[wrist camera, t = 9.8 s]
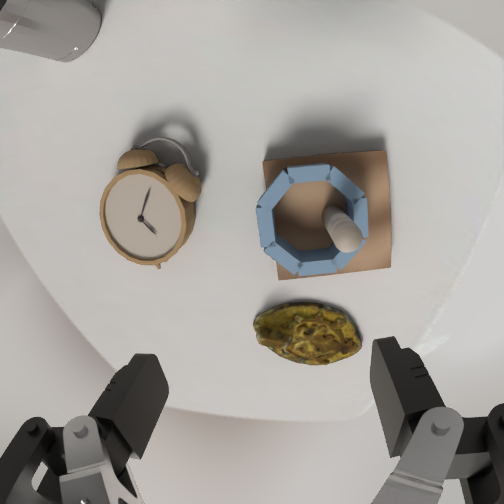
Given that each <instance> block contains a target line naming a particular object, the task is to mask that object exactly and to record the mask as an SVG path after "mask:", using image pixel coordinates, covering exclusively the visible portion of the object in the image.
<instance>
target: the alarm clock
mask: <svg viewBox="0 0 504 504" xmlns="http://www.w3.org/2000/svg"><path fill="white" fill-rule="evenodd" d="M156 140H163V141H167V142H170V143H172V144H173V145H175V146H176V147H177V148H179V149H180V151H181V152H182V153H183V155H184V157H185V159H186V163H187V166H186V165H183V164H173V165H171V166H169V167H168V168H167V169H165V168H164V167H165V164H162V163H159V166H161V167H157V166H153V165H151V164H155V163H158V159H157V156H156V155H155V153H154V152H152V151H151V150H148V149H138V148H142V147H144V146H147V145H148V144H150V143H151V142H153V141H156ZM146 165H151V166H146ZM140 166H142V167H140ZM134 167H136V168H135V169H132V170H127V171H125V172H123V173H121V174H119V175H117V176H116V177H114V178H113V179H112V181H111V182H110V183H109V184H108V185H107V186H106V188H105V190H104V193H103V195H102V198H101V202H100V219H101V225H102V229H103V231H104V233H105V235H106V238H107V240H108V242H109V243H110V244H111V245H112V246H113V248H114V249H115V250H116V251H117V252H118V253H119V254H120V255H122V256H123V257H125V258H126V259H127V260H129V261H132V262H135V263H137V264H140V265H156V267H157V269H160V268H161V266H160V263H162V262H165V261H167V260H168V259H170V258H171V257H172V256H173V255H174V254H176V253H177V252H178V250H179V249H180V248H181V246H183V245H184V244H185V243H186V241H187V239H188V238H189V236H190V234H191V233H192V230H193V225H194V220H195V213H194V203H193V202H194V201H195V200H196V199H197V198H198V197H199V195H200V193H201V183H200V180H199V178H198V175H199V171H194V169H193V167H192V164H191V159H190V156H189V154H188V152H187V150H186V149H185V147H184V146H182V145H181V144H180V143H179V142H177V141H175V140H174V139H170V138H163V137H159V138H154V139H150V140H148V141H146V142H145V143H144V144H142V145H140V146H137V144H136V145H133V149H131V151H128V152H126V153H125V154H123V155H122V156H121V157H120V159H119V161H118V165H117V169H127V168H134ZM162 167H163V168H162Z"/></svg>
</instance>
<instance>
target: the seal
mask: <svg viewBox="0 0 504 504" xmlns="http://www.w3.org/2000/svg"><path fill="white" fill-rule="evenodd" d="M253 326H254V330H255V332H256V333H257V334H256V338H257V340H258V342H259V344H261V345H264V346H267V347H268V348H269V349H270V350H272V351H273V352H275V353H276V354H277V355H279V356H281V357H283V358H285V359H288V360H291V361H294V362H296V363H303V364H308V365H323V364H324V365H328V364H329V363H333V362H336V361H339V360H342V359H345V358H348V357H350V356H352V355H354V354H355V353H357V352H358V351H359V350H360V349H361V347H362V344H361V340H360V337H359V334H358V330H357V328H356V326H355V325H354V323H353V322H352V320H351V319H350V318H349V317H348V316H347V315H346V314H345V313H343V312H341V311H339V310H337V309H334V308H332V307H329V306H326V305H323V304H317V303H303V302H299V303H287V304H283V305H279V306H277V307H274V308H272V309H270V310H267V311H266V312H264V313H262V314H261V315H259V316H258V317H257V318H256V319H255V320H254V322H253Z"/></svg>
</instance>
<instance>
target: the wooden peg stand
mask: <svg viewBox="0 0 504 504" xmlns="http://www.w3.org/2000/svg"><path fill="white" fill-rule="evenodd" d="M322 163H325V164H329V165H331V166H334V167H336V168H337V169H338V170H339V171H340V172H341V173H343V174H344V175H345V176H346V177H347V178H348V179H349V180H351V181H352V182H353V183H354V184H355V185H356V186H357V187H358V188H360V189H361V190H362V191H363V192H364V193H365V194H364V195H363V196H365V197H366V198H367V209H368V237H364V239H365V240H366V241H367V242H366V243H365V244H364V245H363V247H362V248H361V249H360V250H359V251H358V252H357V253H356V254H355V256H354V257H353V258H352V259H351V260H350V261H349V262H348V263H347V264H346V266H345V267H344V268H343V269H342V270H340V269H339V268H338V267H337V273H327V274H317V275H306V276H299V274H298V271H297V272H296V273H295V275H294V274H292V273H291V272H290V271H288V270H287V269H286V268H284V267H283V266H282V265H280V264H279V263H278V262H277V261H276V263H277V271H278V278H279V280H287V279H297V278H306V277H315V276H324V275H333V274H342V273H350V272H358V271H366V270H374V269H382V268H390V267H391V214H390V193H389V179H388V167H387V156H386V151H362V152H347V153H334V154H323V155H312V156H302V157H293V158H285V159H277V160H269V161H263V169H264V176H265V182H266V189H267V188H268V187H269V186H270V185H271V183H272V182H273V181H274V180H275V178H276V177H277V176H278V175H279V173H280V172H281V171H282V170H283V169H284V170H285V171H286V172H287V173H288V171H287V167H289V166H299V165H310V164H322ZM273 210H274V218H275V226H276V233H277V234H278V235H280V236H281V237H282V238H283V239H285V240H286V241H287V242H288V243H290V244H291V245H292V246H294V247H295V248H296V249H297V250H299V251H304V250H314V249H324V248H329V247H330V245H331V244H332V243H333V242H334V244H335V246H336V247H337V248H338V249H339V250H340V251H342V252H346V253H349V252H353V251H355V250H357V249H358V248H359V247H360V245H361V243H362V240H363V235H362V231H361V230H360V228H359V227H358V226H357V225H356V224H355V223H354V222H353V221H352V220H351V219H350V218H349V217H348V216H347V212H346V198H345V196H344V195H343V194H342V193H341V192H339V191H338V190H337V189H336V188H335V187H334V186H332V185H331V184H330V183H329V182H328V181H327V180H325V181H313V182H303V183H293V184H292V185H291V187H290V188H289V189H288V190H287V191H286V193H285V194H284V195H283V196H282V198H281V199H280V200H279V201H278V203H277V204H276V205H275V206H274V208H273Z"/></svg>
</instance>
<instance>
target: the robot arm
mask: <svg viewBox="0 0 504 504" xmlns="http://www.w3.org/2000/svg"><path fill="white" fill-rule="evenodd" d="M100 24H101V16H100V12H99V11H98V10H97V9H96V8H95V7H93V2H92V1H91V0H0V48H4V49H9V50H14V51H19V52H23V53H28V54H32V55H36V56H40V57H44V58H48V59H52V60H56V61H60V62H68V61H71V60H74V59H76V58H77V57H79V56H80V55H81V54H83V53H84V52H85V51H86V50H87V49H88V48H89V46H90V45H91V44H92V42H93V41H94V39H95V37H96V36H97V34H98V31H99V28H100ZM370 383H371V388H372V392H373V395H374V399H375V402H376V405H377V409H378V413H379V416H380V420H381V423H382V427H383V431H384V435H385V439H386V443H387V447H388V450H389V455H390V458H392V457H395V456H400V458H401V459H400V460H399V462H398V464H397V466H396V468H395V469H394V471H393V472H392V473H391V474H390V476H389V477H388V479H387V480H386V482H385V483H384V485H383V486H382V488H381V490H380V491H379V493H378V494H377V496H376V497H375V499H374V500H373V502H372V503H371V504H437V503H438V501H439V498H440V496H441V494H442V491H443V487H442V485H443V482H444V480H445V479H460V483H461V487H462V491H463V495H464V499H465V504H504V403H503V404H499V405H497V406H495V407H494V408H493V409H492V410H491V412H490V413H489V415H488V416H487V417H475V418H464V417H461V415H460V414H459V413H458V412H457V411H455V410H454V409H451V408H448V407H446V406H445V405H444V403H443V400H442V398H441V396H440V394H439V392H438V391H437V389H436V386H435V385H434V382H433V381H432V379H431V377H430V376H429V373H428V371H427V369H426V367H424V363H423V362H422V360H421V358H420V356H419V355H418V354H417V353H415V352H414V351H413V350H412V349H410V348H404V349H401V348H400V346H399V344H398V342H397V340H396V338H395V337H394V336H392V337H387V338H381V339H375V340H374V341H373V345H372V356H371V366H370ZM168 394H169V387H168V382H167V380H166V378H165V375H164V373H163V370H162V368H161V366H160V363H159V361H158V358H157V356H156V355H155V354H135V355H134V356H133V358H132V359H131V361H130V362H129V364H128V365H125V366H124V367H123V368H121V369H120V370H119V371H118V372H116V373H115V375H114V376H113V378H112V379H111V381H110V384H108V385H107V387H106V388H105V391H103V393H102V394H101V396H100V397H99V399H98V400H97V402H96V403H95V405H94V406H93V408H92V410H91V411H90V413H89V414H88V416H78V417H75V418H74V419H72V420H70V421H69V422H68V423H67V424H66V426H65V427H50V426H49V425H48V423H47V422H46V420H45V419H43V418H41V417H33V418H31V419H29V420H27V421H26V422H25V423H24V424H23V425H22V426H21V428H20V429H19V431H18V432H17V434H16V435H15V437H14V438H13V440H12V441H11V443H10V444H9V446H8V447H7V449H6V450H5V452H4V453H3V455H2V456H1V458H0V504H144V502H143V500H142V498H141V495H140V493H139V490H138V488H137V485H136V483H135V480H134V478H133V475H132V472H131V469H130V467H129V465H128V464H127V461H128V459H129V457H130V458H135V459H141V458H142V456H143V453H144V451H145V449H146V446H147V444H148V442H149V439H150V437H151V434H152V432H153V429H154V428H155V425H156V423H157V421H158V419H159V416H160V414H161V412H162V409H163V407H164V405H165V403H166V400H167V398H168ZM41 461H42V462H43V463H44V464H45V465H46V466H47V467H48V470H47V472H46V474H45V475H44V477H43V480H42V481H41V483H40V485H39V487H38V489H37V491H35V490H34V489H33V487H32V484H31V480H32V477H33V475H34V474H35V472H36V470H37V468H38V466H39V465H40V463H41Z"/></svg>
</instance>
